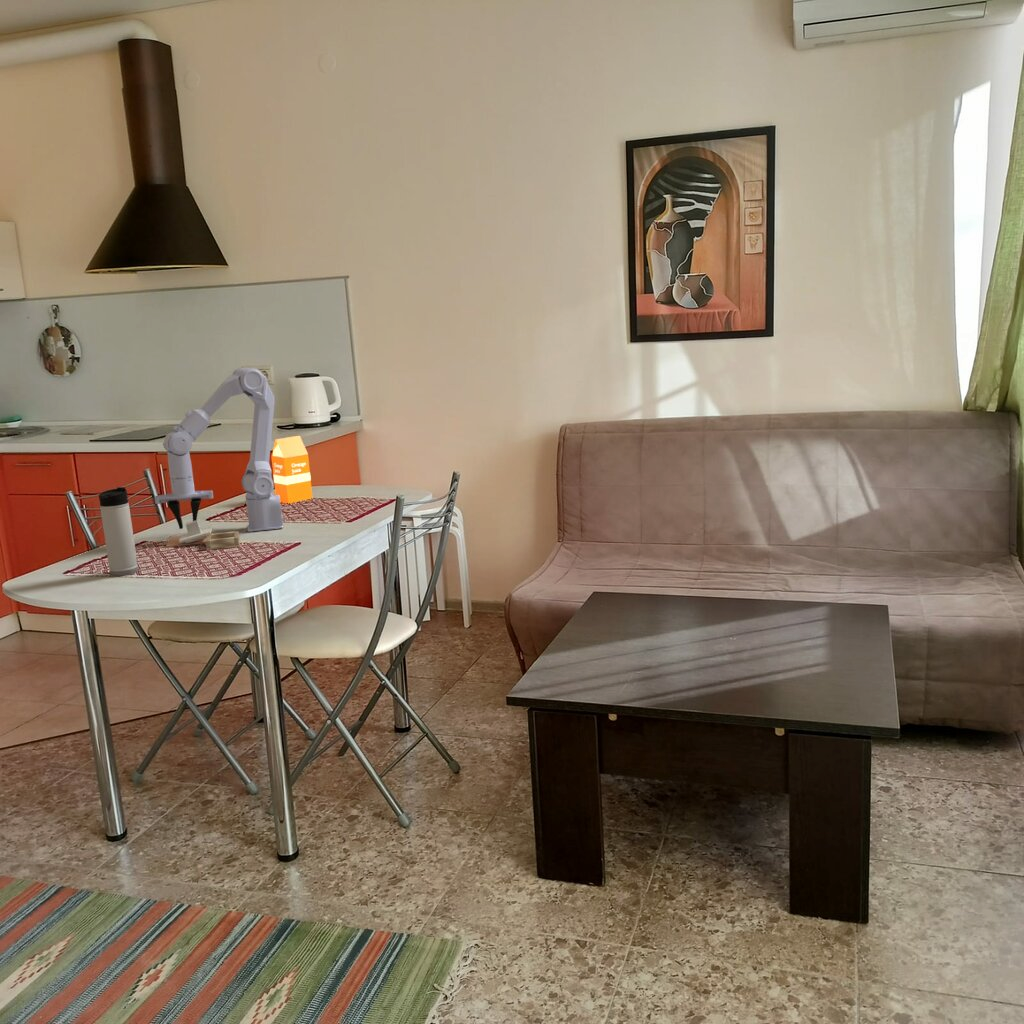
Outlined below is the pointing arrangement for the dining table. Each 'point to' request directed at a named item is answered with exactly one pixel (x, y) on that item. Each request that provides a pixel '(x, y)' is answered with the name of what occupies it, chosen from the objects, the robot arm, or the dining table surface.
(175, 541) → the mat
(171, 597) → the dining table surface
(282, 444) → the orange juice
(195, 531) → the lid
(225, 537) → the box
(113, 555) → the travel mug
